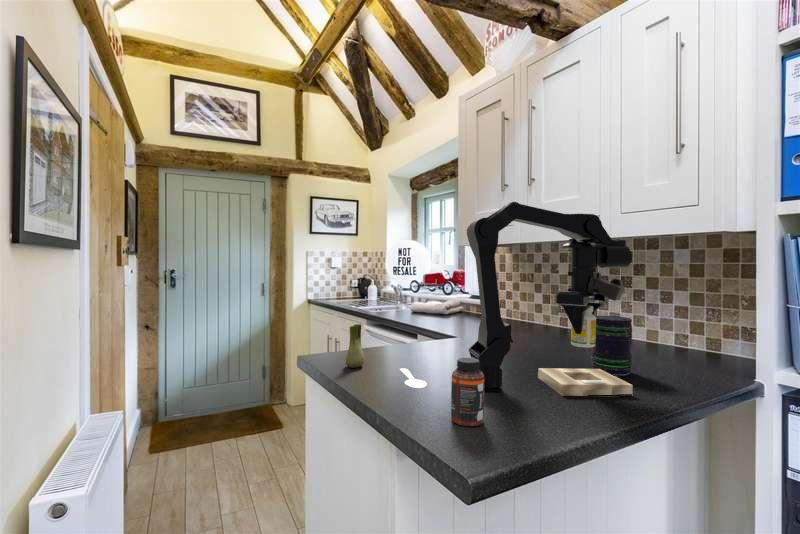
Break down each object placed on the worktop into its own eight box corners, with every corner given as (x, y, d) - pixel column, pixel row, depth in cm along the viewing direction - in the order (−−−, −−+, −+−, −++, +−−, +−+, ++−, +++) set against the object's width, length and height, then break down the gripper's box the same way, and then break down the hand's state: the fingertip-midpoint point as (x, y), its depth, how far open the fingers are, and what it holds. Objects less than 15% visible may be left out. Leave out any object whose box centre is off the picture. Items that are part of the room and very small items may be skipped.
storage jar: (588, 372, 108) (588, 318, 108) (594, 365, 116) (594, 314, 116) (630, 378, 102) (630, 321, 102) (633, 370, 110) (634, 317, 110)
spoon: (412, 369, 109) (412, 367, 109) (431, 389, 92) (431, 387, 92) (393, 370, 108) (393, 368, 108) (408, 390, 90) (408, 388, 90)
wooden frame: (561, 395, 88) (561, 383, 88) (538, 377, 102) (538, 367, 102) (632, 396, 88) (632, 384, 88) (599, 378, 102) (599, 368, 102)
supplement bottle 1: (490, 426, 70) (491, 362, 70) (459, 429, 68) (460, 364, 68) (474, 414, 76) (475, 355, 76) (445, 416, 74) (446, 356, 74)
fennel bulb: (358, 363, 113) (359, 322, 113) (368, 367, 110) (369, 324, 110) (341, 366, 109) (342, 323, 109) (351, 370, 106) (352, 326, 106)
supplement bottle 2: (576, 347, 92) (577, 306, 92) (567, 343, 97) (567, 304, 97) (599, 348, 92) (600, 306, 92) (589, 343, 97) (589, 304, 97)
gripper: (607, 267, 82) (606, 342, 82) (632, 268, 96) (631, 332, 96) (555, 267, 90) (554, 335, 90) (584, 267, 103) (583, 327, 103)
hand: (582, 332), depth 94 cm, fingers closed on supplement bottle 2, 5 cm apart
